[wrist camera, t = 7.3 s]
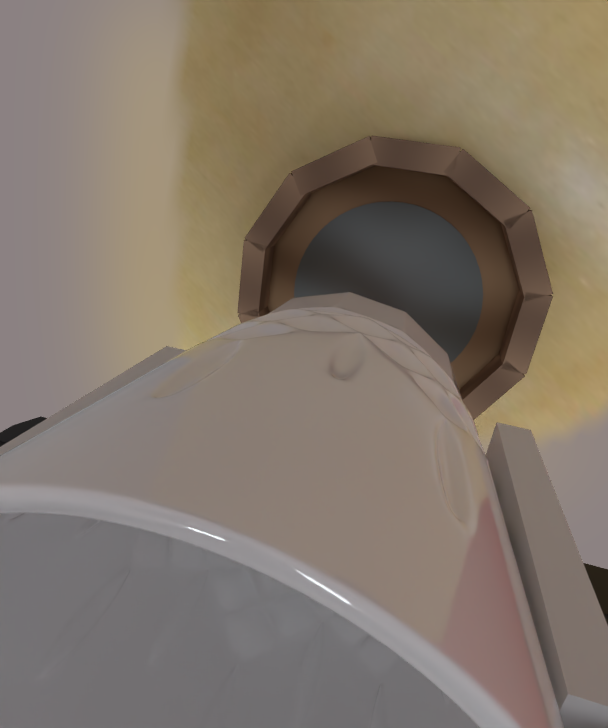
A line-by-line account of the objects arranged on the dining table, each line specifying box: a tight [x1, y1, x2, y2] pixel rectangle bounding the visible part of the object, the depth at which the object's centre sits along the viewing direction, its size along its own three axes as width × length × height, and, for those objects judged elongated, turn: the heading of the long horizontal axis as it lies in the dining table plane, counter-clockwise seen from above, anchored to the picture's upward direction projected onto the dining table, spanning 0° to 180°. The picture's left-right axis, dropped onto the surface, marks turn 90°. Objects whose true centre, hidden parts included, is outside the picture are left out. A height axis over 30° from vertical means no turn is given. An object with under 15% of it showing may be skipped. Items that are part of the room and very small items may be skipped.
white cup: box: [0, 292, 565, 728], centre depth 9 cm, size 8×8×10 cm
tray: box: [238, 136, 553, 420], centre depth 26 cm, size 16×16×3 cm
